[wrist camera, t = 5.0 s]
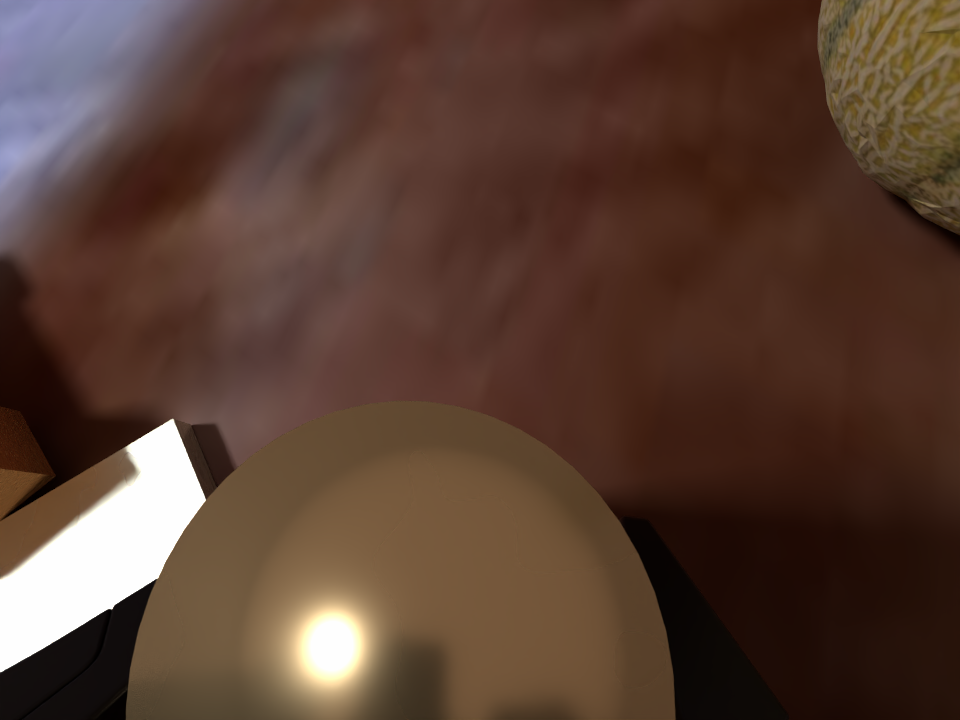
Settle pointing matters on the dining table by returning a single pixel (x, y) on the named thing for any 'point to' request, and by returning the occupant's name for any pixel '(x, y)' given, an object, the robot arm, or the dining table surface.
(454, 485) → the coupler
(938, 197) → the cantaloupe
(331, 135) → the dining table surface
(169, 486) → the stand
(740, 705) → the robot arm
